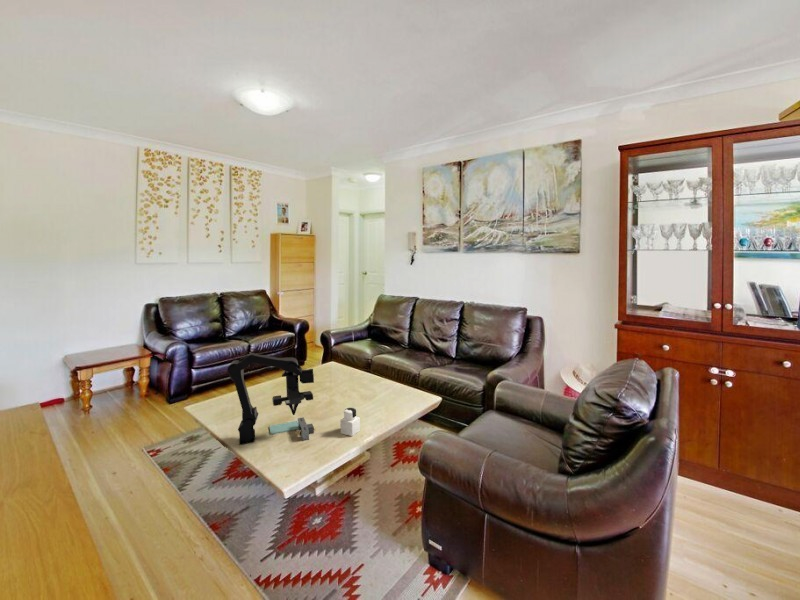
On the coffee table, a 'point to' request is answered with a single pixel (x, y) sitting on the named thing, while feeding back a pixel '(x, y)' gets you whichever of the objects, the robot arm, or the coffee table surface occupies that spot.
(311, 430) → the plug
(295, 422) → the mat
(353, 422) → the medicine bottle
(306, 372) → the robot arm
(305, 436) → the housing
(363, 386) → the coffee table surface
